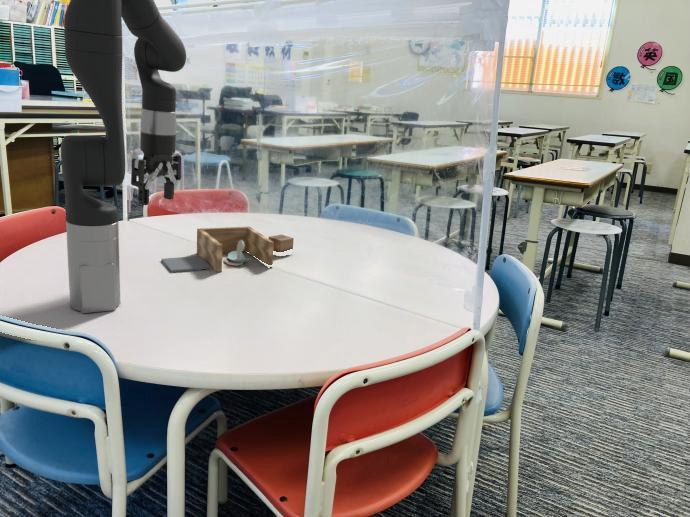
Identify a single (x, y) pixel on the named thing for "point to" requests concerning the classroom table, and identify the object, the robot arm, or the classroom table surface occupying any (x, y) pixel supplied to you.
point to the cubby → (232, 244)
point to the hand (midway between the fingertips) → (156, 201)
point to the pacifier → (237, 255)
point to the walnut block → (282, 243)
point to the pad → (186, 264)
